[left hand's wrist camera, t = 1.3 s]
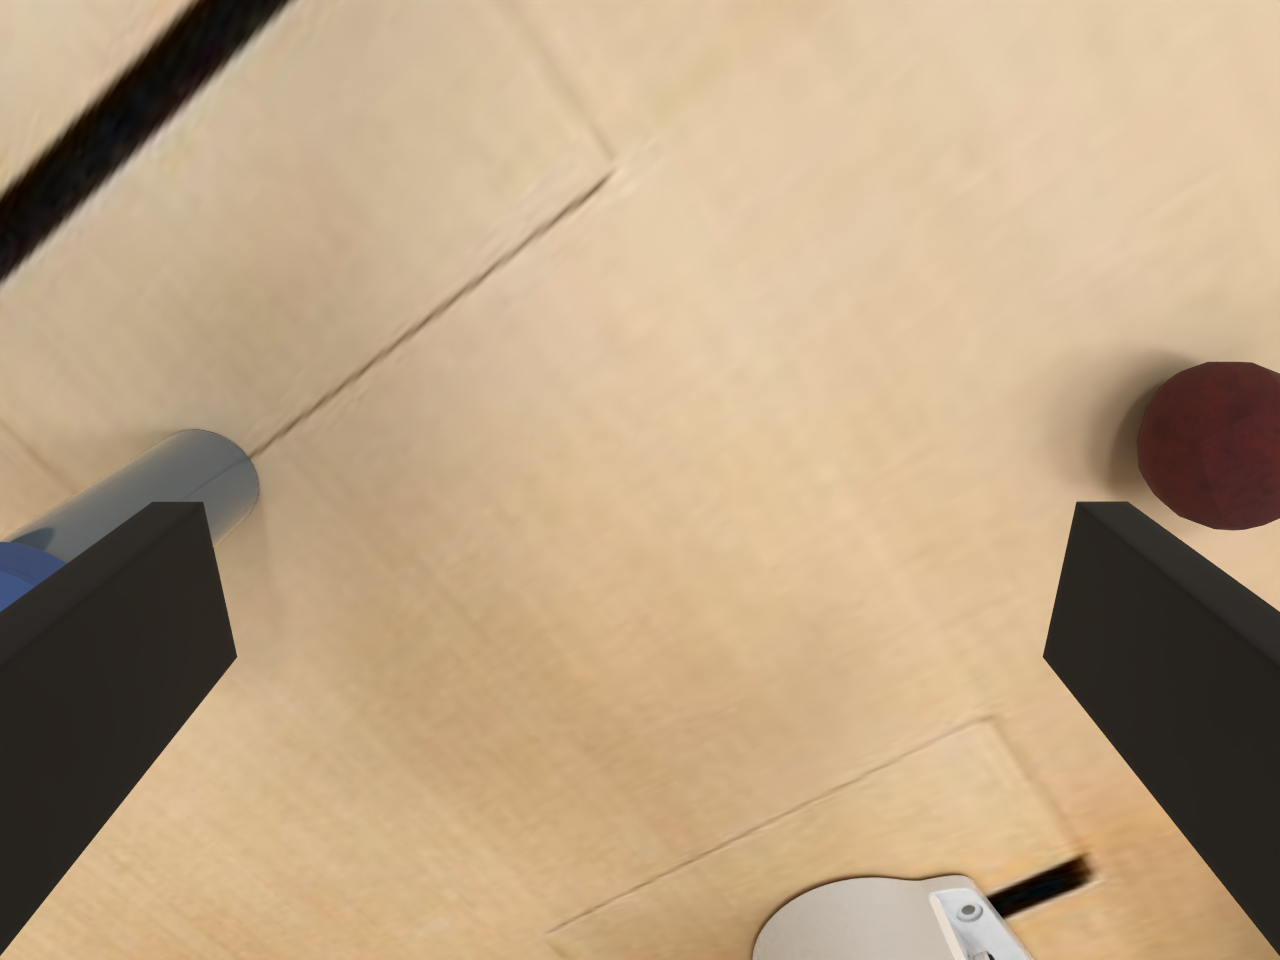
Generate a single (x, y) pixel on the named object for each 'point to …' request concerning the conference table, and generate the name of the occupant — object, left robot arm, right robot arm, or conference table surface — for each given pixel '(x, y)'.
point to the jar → (151, 493)
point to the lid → (23, 570)
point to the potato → (1215, 445)
